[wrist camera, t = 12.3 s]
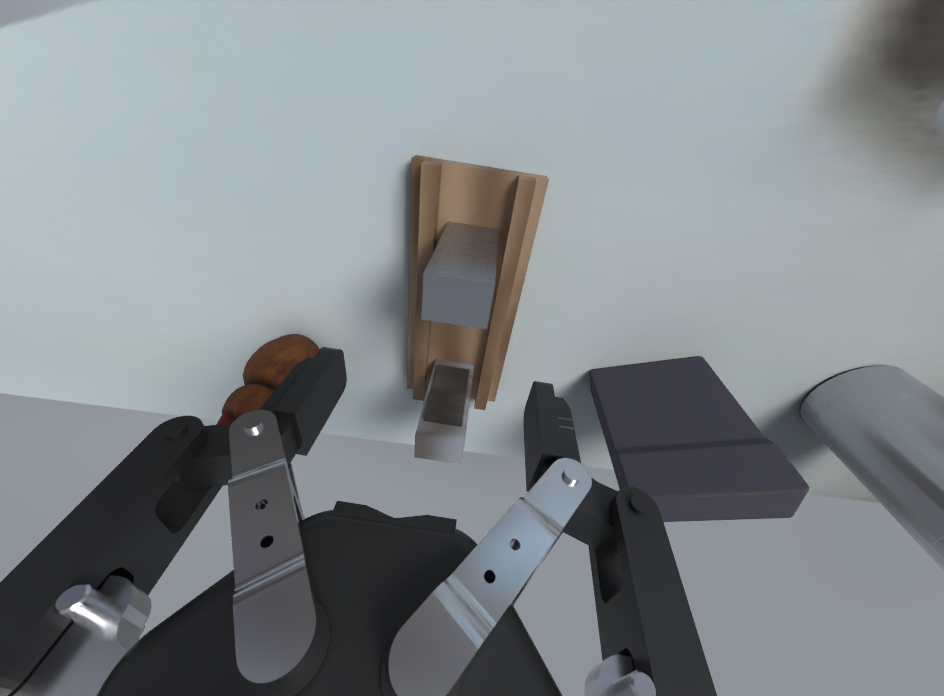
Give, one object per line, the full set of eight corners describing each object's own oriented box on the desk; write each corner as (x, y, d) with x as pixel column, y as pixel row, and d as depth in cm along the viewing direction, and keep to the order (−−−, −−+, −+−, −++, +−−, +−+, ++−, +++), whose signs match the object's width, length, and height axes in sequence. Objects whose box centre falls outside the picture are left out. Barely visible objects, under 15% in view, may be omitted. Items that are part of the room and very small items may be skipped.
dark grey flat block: (590, 393, 38) (629, 528, 26) (588, 364, 36) (630, 499, 24) (697, 381, 36) (793, 523, 24) (703, 350, 33) (814, 490, 21)
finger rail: (546, 176, 25) (569, 219, 16) (494, 392, 39) (491, 482, 30) (416, 155, 25) (364, 186, 16) (410, 379, 39) (380, 465, 30)
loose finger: (498, 229, 26) (494, 284, 18) (491, 269, 29) (485, 334, 21) (448, 221, 26) (423, 273, 18) (445, 261, 28) (421, 324, 20)
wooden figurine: (339, 372, 39) (265, 491, 27) (293, 373, 40) (202, 490, 28) (317, 323, 35) (220, 438, 23) (267, 325, 36) (148, 438, 24)
